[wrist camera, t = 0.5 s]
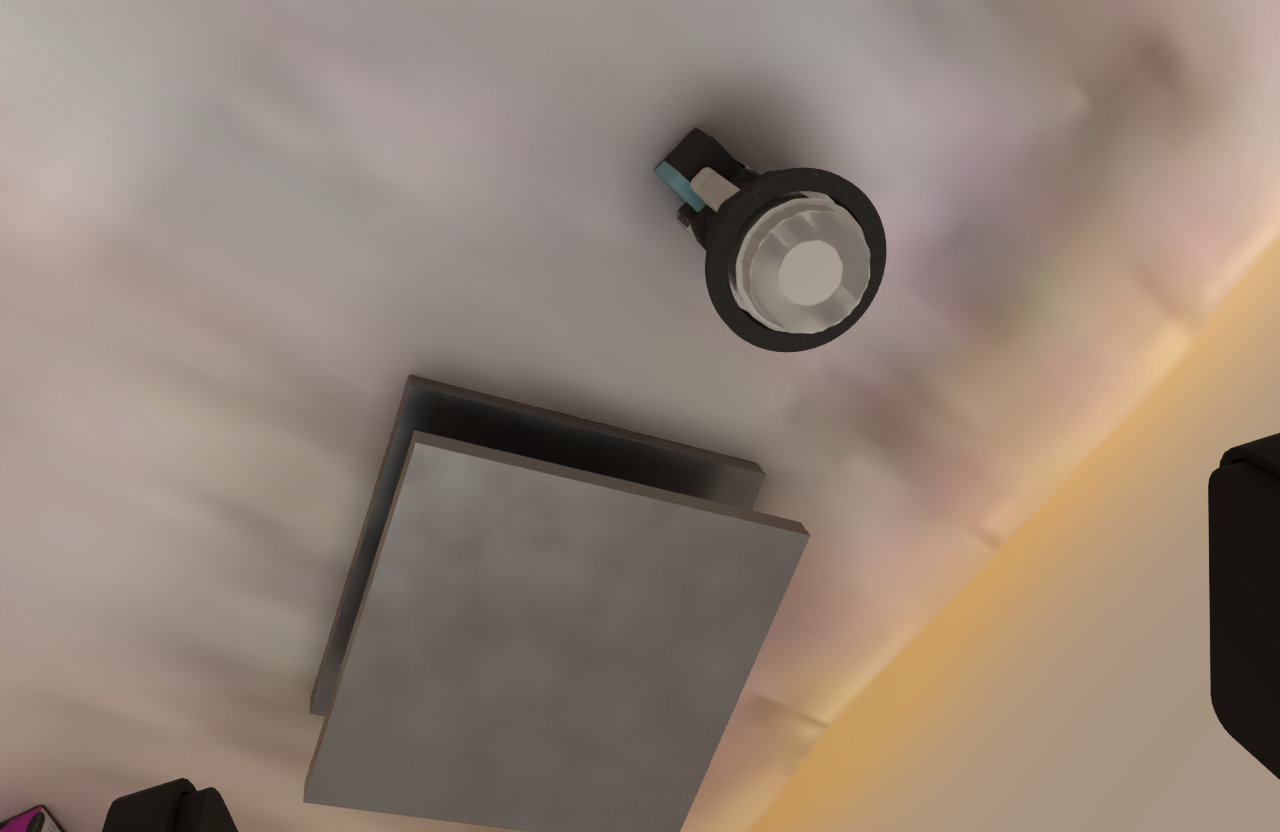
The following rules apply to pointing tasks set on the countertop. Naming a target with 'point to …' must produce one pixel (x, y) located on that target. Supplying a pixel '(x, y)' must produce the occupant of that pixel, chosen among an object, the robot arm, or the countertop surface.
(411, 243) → the countertop surface
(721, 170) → the push button
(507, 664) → the stand
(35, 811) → the candy bar box
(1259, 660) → the robot arm
